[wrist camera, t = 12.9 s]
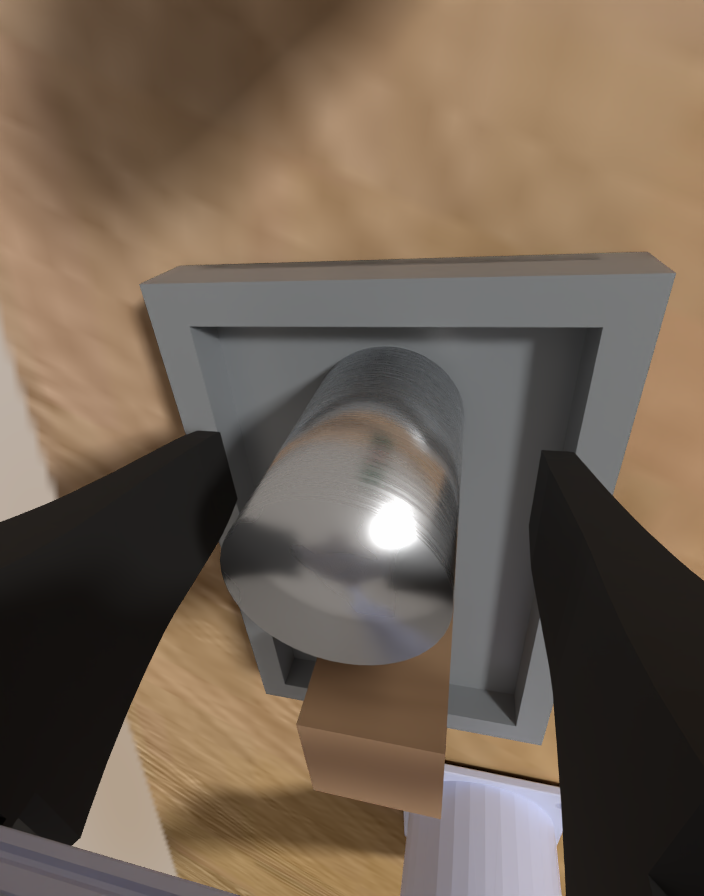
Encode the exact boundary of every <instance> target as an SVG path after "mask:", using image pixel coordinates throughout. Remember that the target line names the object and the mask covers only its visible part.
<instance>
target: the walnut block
mask: <svg viewBox="0 0 704 896" xmlns="http://www.w3.org/2000/svg"><path fill="white" fill-rule="evenodd" d="M453 611H454V604H453ZM452 628H453V614H452V619H451V622H450V625H449V627H448V629H447V631H446V632H445V634H444V636H443V637H442V638H441V639H440V640H439V641H438V642H437V643H436V644H435V645H434V646H433V647H431V648H430V649H429V650H427V651H425V652H424V653H422V654H420V655H418V656H416V657H413V658H411V659H408V660H405V661H401V662H397V663H391V664H385V665H354V664H345V663H339V662H334V661H330V660H326V659H322V658H318V657H317V660H316V663H315V666H314V669H313V673H312V676H311V679H310V682H309V686H308V689H307V692H306V695H305V699H304V702H303V705H302V708H301V711H300V715H299V718H298V721H297V724H296V725H297V729H298V733H299V736H300V740H301V744H302V748H303V752H304V755H305V759H306V763H307V767H308V770H309V774H310V778H311V782H312V786H313V789H314V790H316V791H320V792H324V793H329V794H333V795H337V796H342V797H346V798H350V799H355V800H359V801H363V802H368V803H372V804H376V805H381V806H385V807H389V808H394V809H398V810H402V811H407V812H411V813H415V814H420V815H424V816H428V817H433V818H437V819H441V811H442V796H443V781H444V766H445V750H446V732H447V715H448V698H449V680H450V663H451V646H452Z"/></svg>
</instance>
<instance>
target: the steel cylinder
mask: <svg viewBox="0 0 704 896" xmlns="http://www.w3.org/2000/svg"><path fill="white" fill-rule="evenodd" d="M463 435H464V407H463V402H462V399H461V396H460V393H459V391H458V389H457V387H456V385H455V383H454V382H453V381H452V379H451V378H450V377H449V375H448V374H447V373H446V372H445V371H444V370H443V369H442V368H441V367H440V366H438V365H437V364H436V363H435V362H433V361H432V360H430V359H428V358H427V357H425V356H423V355H421V354H418V353H416V352H414V351H410V350H407V349H403V348H398V347H386V346H382V347H372V348H367V349H363V350H360V351H357V352H354V353H352V354H350V355H348V356H347V357H345V358H343V359H342V360H341V361H339V362H338V363H337V364H336V365H335V366H334V367H333V368H332V369H331V370H330V371H329V373H328V374H327V375H326V377H325V378H324V380H323V381H322V383H321V385H320V386H319V388H318V389H317V391H316V393H315V394H314V396H313V397H312V399H311V401H310V402H309V404H308V405H307V407H306V409H305V410H304V412H303V413H302V415H301V417H300V418H299V420H298V421H297V423H296V425H295V426H294V428H293V429H292V431H291V433H290V434H289V436H288V437H287V439H286V440H285V442H284V444H283V445H282V447H281V448H280V450H279V452H278V453H277V455H276V456H275V458H274V460H273V461H272V463H271V464H270V466H269V468H268V469H267V471H266V472H265V474H264V476H263V477H262V479H261V480H260V482H259V484H258V485H257V487H256V488H255V490H254V492H253V493H252V495H251V496H250V498H249V500H248V501H247V503H246V504H245V506H244V508H243V509H242V511H241V512H240V514H239V516H238V517H237V519H236V520H235V522H234V524H233V525H232V527H231V528H230V530H229V531H228V533H227V535H226V537H225V539H224V541H223V545H222V548H221V556H220V564H221V572H222V575H223V579H224V582H225V584H226V586H227V589H228V591H229V592H230V594H231V596H232V597H233V599H234V601H235V602H236V603H237V604H238V606H239V607H240V608H241V610H242V611H243V612H244V613H245V614H246V615H247V616H248V617H249V618H250V619H251V620H252V621H253V622H254V623H256V624H257V625H258V626H259V627H260V628H262V629H263V630H264V631H266V632H267V633H268V634H270V635H271V636H273V637H275V638H276V639H278V640H280V641H281V642H283V643H285V644H287V645H289V646H291V647H293V648H295V649H297V650H300V651H302V652H304V653H307V654H310V655H313V656H315V657H318V658H322V659H326V660H330V661H334V662H339V663H345V664H354V665H385V664H391V663H397V662H401V661H405V660H408V659H411V658H413V657H416V656H418V655H420V654H422V653H424V652H425V651H427V650H429V649H430V648H431V647H433V646H434V645H435V644H436V643H437V642H438V641H439V640H440V639H441V638H442V637H443V636H444V634H445V632H446V631H447V629H448V627H449V625H450V622H451V619H452V614H453V604H454V587H455V571H456V554H457V537H458V520H459V503H460V486H461V469H462V452H463Z"/></svg>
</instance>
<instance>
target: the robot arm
mask: <svg viewBox="0 0 704 896" xmlns="http://www.w3.org/2000/svg"><path fill="white" fill-rule="evenodd" d="M237 500H238V498H237V494H236V490H235V487H234V483H233V479H232V475H231V471H230V468H229V464H228V460H227V456H226V452H225V449H224V445H223V441H222V437H221V433H220V432H215V431H198V430H197V431H195V432H192V433H189V434H187V435H185V436H183V437H181V438H178V439H176V440H174V441H172V442H170V443H168V444H166V445H164V446H163V447H161V448H159V449H157V450H155V451H153V452H151V453H149V454H147V455H145V456H143V457H142V458H140V459H138V460H136V461H134V462H132V463H130V464H128V465H126V466H124V467H123V468H121V469H119V470H117V471H115V472H113V473H111V474H109V475H107V476H105V477H103V478H101V479H99V480H97V481H94V482H92V483H90V484H88V485H86V486H84V487H82V488H80V489H78V490H76V491H74V492H72V493H70V494H68V495H66V496H63V497H61V498H59V499H57V500H54V501H52V502H50V503H47V504H45V505H43V506H40V507H38V508H35V509H33V510H30V511H28V512H25V513H23V514H20V515H18V516H15V517H13V518H10V519H7V520H5V521H2V522H0V896H240V895H236V894H233V893H230V892H226V891H223V890H219V889H216V888H213V887H209V886H206V885H202V884H199V883H196V882H192V881H189V880H185V879H182V878H179V877H175V876H172V875H168V874H165V873H162V872H158V871H154V870H151V869H148V868H145V867H141V866H137V865H134V864H131V863H128V862H124V861H121V860H117V859H113V858H110V857H107V856H104V855H100V854H97V853H93V852H90V851H87V850H83V849H80V848H76V847H73V846H72V845H73V844H74V843H75V842H76V841H77V840H78V839H80V838H81V835H82V832H83V829H84V826H85V823H86V820H87V817H88V814H89V811H90V808H91V806H92V803H93V800H94V797H95V795H96V792H97V789H98V786H99V783H100V781H101V778H102V775H103V772H104V770H105V767H106V764H107V761H108V759H109V756H110V754H111V751H112V749H113V746H114V744H115V741H116V739H117V737H118V734H119V732H120V729H121V727H122V724H123V722H124V719H125V717H126V714H127V712H128V709H129V707H130V705H131V703H132V700H133V698H134V696H135V694H136V691H137V689H138V687H139V685H140V682H141V680H142V678H143V676H144V673H145V671H146V669H147V667H148V665H149V663H150V661H151V659H152V656H153V654H154V652H155V650H156V648H157V646H158V644H159V642H160V640H161V638H162V636H163V634H164V632H165V630H166V628H167V626H168V624H169V622H170V621H171V619H172V617H173V615H174V613H175V612H176V610H177V608H178V607H179V605H180V604H181V602H182V600H183V599H184V597H185V595H186V594H187V592H188V591H189V589H190V587H191V586H192V584H193V583H194V581H195V579H196V578H197V576H198V574H199V573H200V571H201V570H202V568H203V566H204V565H205V563H206V562H207V560H208V558H209V557H210V555H211V553H212V552H213V550H214V548H215V547H216V545H217V543H218V542H219V540H220V538H221V536H222V535H223V533H224V530H225V528H226V526H227V524H228V522H229V519H230V517H231V515H232V512H233V510H234V507H235V505H236V502H237ZM529 543H530V561H531V571H532V577H533V583H534V588H535V594H536V599H537V605H538V610H539V616H540V621H541V626H542V632H543V637H544V643H545V648H546V653H547V659H548V664H549V670H550V677H551V684H552V691H553V703H554V715H555V727H556V740H557V753H558V767H559V782H560V787H557V786H552V785H547V784H543V783H538V782H533V781H528V780H523V779H518V778H513V777H508V776H503V775H499V774H494V773H489V772H484V771H479V770H474V769H469V768H464V767H459V766H455V765H450V764H445V766H444V781H443V796H442V811H441V819H437V818H433V817H428V816H424V815H420V814H415V813H411V812H407V811H404V833H405V836H406V847H405V856H404V866H403V875H402V885H401V894H400V896H562V895H561V886H560V876H559V867H558V857H557V847H556V846H557V844H558V841H559V839H560V837H561V834H562V832H563V847H564V864H565V884H566V896H704V581H703V580H702V579H701V578H700V577H698V576H697V575H696V574H695V573H693V572H692V571H691V570H690V569H689V568H687V567H686V566H685V565H684V564H683V563H681V562H680V561H679V560H678V559H677V558H676V557H675V556H673V555H672V554H671V553H670V552H669V551H668V550H667V549H666V548H665V547H664V546H663V545H661V544H660V543H659V542H658V541H657V540H656V539H655V538H654V537H653V536H652V535H651V534H650V533H648V532H647V531H646V530H645V529H644V528H643V527H642V526H641V525H640V524H639V523H638V522H637V521H636V520H635V519H634V518H633V517H632V516H631V515H630V513H629V512H628V511H627V510H626V509H625V508H624V507H623V506H622V505H621V504H620V503H619V502H618V501H617V500H616V499H615V498H614V497H613V495H612V494H611V493H610V492H609V491H608V490H607V489H606V488H605V487H604V485H603V484H602V483H601V482H600V481H599V480H598V479H597V478H596V476H595V475H594V474H593V473H592V472H591V471H590V469H589V468H588V467H587V466H586V465H585V464H584V463H583V462H582V460H581V459H580V458H579V457H578V456H577V455H576V454H575V453H574V452H568V451H550V450H541V456H540V462H539V468H538V474H537V480H536V486H535V491H534V497H533V503H532V509H531V515H530V521H529Z"/></svg>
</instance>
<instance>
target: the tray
mask: <svg viewBox="0 0 704 896" xmlns="http://www.w3.org/2000/svg"><path fill="white" fill-rule="evenodd" d="M675 275H676V273H675V272H674V271H673V270H671V269H670V268H669V267H667V266H666V265H665V264H663V263H662V262H661V261H659V260H658V259H657V258H655V257H654V256H653V255H651V254H650V253H649V252H624V253H590V254H557V255H523V256H490V257H456V258H423V259H389V260H356V261H322V262H289V263H255V264H222V265H188V266H178V267H176V268H173V269H171V270H169V271H167V272H165V273H163V274H160V275H158V276H156V277H154V278H152V279H149V280H147V281H145V282H143V283H141V284H139V285H140V288H141V291H142V294H143V298H144V301H145V304H146V307H147V310H148V314H149V317H150V320H151V323H152V327H153V330H154V333H155V336H156V339H157V343H158V346H159V349H160V352H161V356H162V359H163V362H164V365H165V369H166V372H167V375H168V378H169V381H170V385H171V388H172V391H173V394H174V398H175V401H176V404H177V407H178V410H179V414H180V417H181V420H182V423H183V427H184V430H185V433H186V435H187V434H189V433H192V432H195V431H197V430H198V431H215V432H220V433H221V437H222V441H223V445H224V449H225V452H226V456H227V460H228V464H229V468H230V471H231V475H232V479H233V483H234V487H235V490H236V494H237V498H238V500H237V502H236V505H235V507H234V510H233V512H232V515H231V517H230V519H229V522H228V524H227V526H226V528H225V530H224V533H223V535H222V536H221V538H220V540H219V543H220V546H221V548H222V545H223V541H224V539H225V537H226V535H227V533H228V531H229V530H230V528H231V527H232V525H233V524H234V522H235V520H236V519H237V517H238V516H239V514H240V512H241V511H242V509H243V508H244V506H245V504H246V503H247V501H248V500H249V498H250V496H251V495H252V493H253V492H254V490H255V488H256V487H257V485H258V484H259V482H260V480H261V479H262V477H263V476H264V474H265V472H266V471H267V469H268V468H269V466H270V464H271V463H272V461H273V460H274V458H275V456H276V455H277V453H278V452H279V450H280V448H281V447H282V445H283V444H284V442H285V440H286V439H287V437H288V436H289V434H290V433H291V431H292V429H293V428H294V426H295V425H296V423H297V421H298V420H299V418H300V417H301V415H302V413H303V412H304V410H305V409H306V407H307V405H308V404H309V402H310V401H311V399H312V397H313V396H314V394H315V393H316V391H317V389H318V388H319V386H320V385H321V383H322V381H323V380H324V378H325V377H326V375H327V374H328V373H329V371H330V370H331V369H332V368H333V367H334V366H335V365H336V364H337V363H338V362H339V361H341V360H342V359H343V358H345V357H347V356H348V355H350V354H352V353H354V352H357V351H360V350H363V349H367V348H372V347H382V346H386V347H398V348H403V349H407V350H410V351H414V352H416V353H418V354H421V355H423V356H425V357H427V358H428V359H430V360H432V361H433V362H435V363H436V364H437V365H438V366H440V367H441V368H442V369H443V370H444V371H445V372H446V373H447V374H448V375H449V377H450V378H451V379H452V381H453V382H454V383H455V385H456V387H457V389H458V391H459V393H460V396H461V399H462V402H463V407H464V435H463V452H462V469H461V486H460V503H459V520H458V537H457V554H456V571H455V587H454V611H453V628H452V646H451V663H450V680H449V698H448V715H447V728H451V729H457V730H462V731H467V732H473V733H478V734H483V735H489V736H494V737H499V738H505V739H510V740H515V741H521V742H526V743H531V744H536V745H542V741H543V738H544V734H545V731H546V727H547V724H548V720H549V717H550V713H551V710H552V706H553V691H552V684H551V677H550V670H549V664H548V659H547V653H546V648H545V643H544V637H543V632H542V626H541V621H540V616H539V610H538V605H537V599H536V594H535V588H534V583H533V577H532V571H531V561H530V543H529V521H530V515H531V509H532V503H533V497H534V491H535V486H536V480H537V474H538V468H539V462H540V456H541V450H550V451H568V452H574V453H575V454H576V455H577V456H578V457H579V458H580V459H581V460H582V462H583V463H584V464H585V465H586V466H587V467H588V468H589V469H590V471H591V472H592V473H593V474H594V475H595V476H596V478H597V479H598V480H599V481H600V482H601V483H602V484H603V485H604V487H605V488H606V489H607V490H608V491H609V492H610V493H611V494H612V495H613V492H614V489H615V485H616V482H617V478H618V475H619V471H620V468H621V464H622V461H623V457H624V454H625V450H626V447H627V443H628V440H629V436H630V433H631V429H632V426H633V422H634V419H635V415H636V412H637V408H638V405H639V401H640V398H641V394H642V391H643V387H644V384H645V380H646V377H647V373H648V370H649V366H650V362H651V359H652V355H653V352H654V348H655V345H656V341H657V338H658V334H659V331H660V327H661V324H662V320H663V317H664V313H665V310H666V306H667V303H668V299H669V296H670V292H671V289H672V285H673V282H674V278H675ZM240 611H241V614H242V617H243V620H244V624H245V627H246V630H247V633H248V636H249V640H250V643H251V646H252V649H253V653H254V656H255V659H256V662H257V665H258V669H259V672H260V675H261V678H262V682H263V685H264V688H265V691H266V694H270V695H276V696H281V697H286V698H292V699H297V700H302V701H304V699H305V695H306V692H307V689H308V686H309V682H310V679H311V676H312V673H313V669H314V666H315V663H316V660H317V657H315V656H313V655H310V654H307V653H304V652H302V651H300V650H297V649H295V648H293V647H291V646H289V645H287V644H285V643H283V642H281V641H280V640H278V639H276V638H275V637H273V636H271V635H270V634H268V633H267V632H266V631H264V630H263V629H262V628H260V627H259V626H258V625H257V624H256V623H254V622H253V621H252V620H251V619H250V618H249V617H248V616H247V615H246V614H245V613H244V612H243V611H242V610H241V608H240Z"/></svg>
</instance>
